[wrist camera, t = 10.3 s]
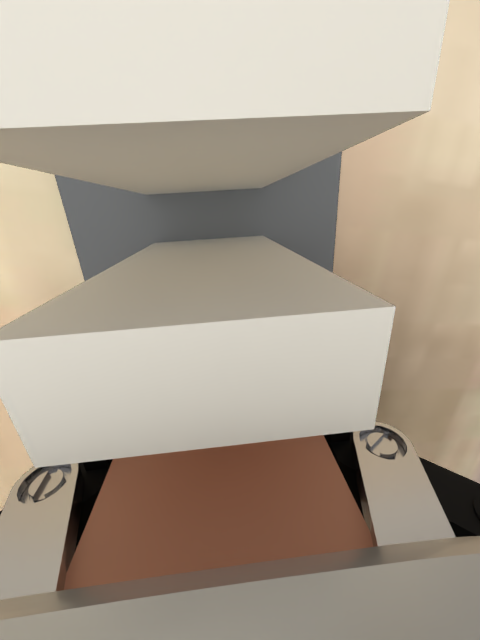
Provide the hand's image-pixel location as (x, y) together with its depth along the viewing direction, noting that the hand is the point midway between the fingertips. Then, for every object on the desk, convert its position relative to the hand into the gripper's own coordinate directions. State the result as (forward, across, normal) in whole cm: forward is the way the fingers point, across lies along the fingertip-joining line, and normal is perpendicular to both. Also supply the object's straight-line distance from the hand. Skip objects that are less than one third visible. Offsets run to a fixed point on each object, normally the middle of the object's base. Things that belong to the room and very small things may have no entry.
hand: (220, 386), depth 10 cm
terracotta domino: (+3, 0, 0) cm, 3 cm away
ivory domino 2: (+4, 0, -4) cm, 6 cm away
